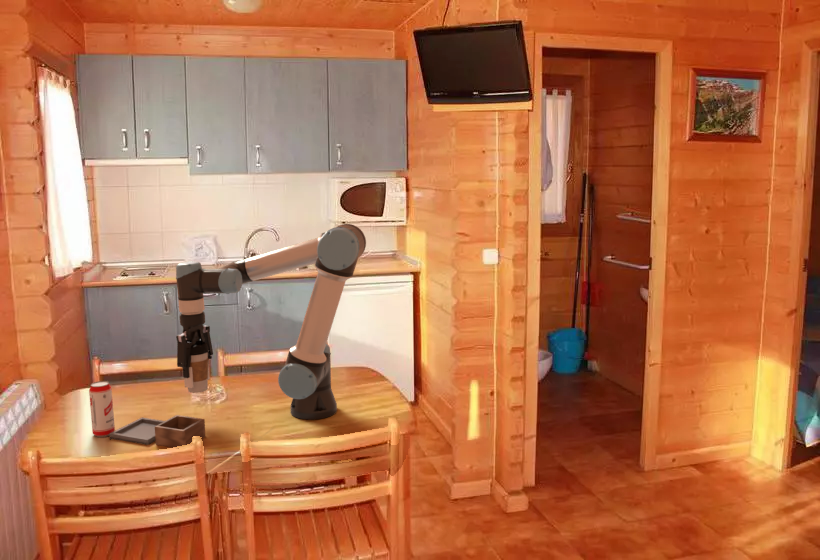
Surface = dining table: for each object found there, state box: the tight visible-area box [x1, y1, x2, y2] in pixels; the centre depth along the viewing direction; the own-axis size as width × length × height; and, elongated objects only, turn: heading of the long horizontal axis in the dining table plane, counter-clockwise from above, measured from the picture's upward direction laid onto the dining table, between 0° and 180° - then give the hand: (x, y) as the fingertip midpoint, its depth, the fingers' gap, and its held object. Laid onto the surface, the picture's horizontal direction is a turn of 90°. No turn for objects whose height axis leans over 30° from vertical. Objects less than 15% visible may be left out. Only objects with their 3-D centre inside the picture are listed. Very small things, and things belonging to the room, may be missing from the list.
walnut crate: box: [155, 414, 206, 448], centre depth 214 cm, size 10×10×6 cm
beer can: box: [88, 380, 116, 438], centre depth 220 cm, size 6×6×16 cm
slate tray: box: [108, 417, 165, 446], centre depth 220 cm, size 14×14×2 cm
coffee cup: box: [186, 342, 209, 394], centre depth 227 cm, size 8×8×15 cm
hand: (197, 383), depth 228 cm, fingers closed on coffee cup, 7 cm apart
